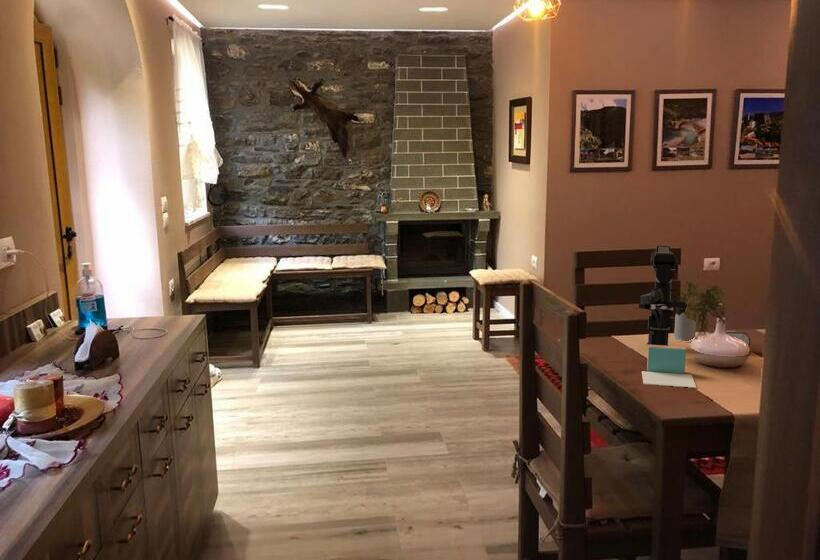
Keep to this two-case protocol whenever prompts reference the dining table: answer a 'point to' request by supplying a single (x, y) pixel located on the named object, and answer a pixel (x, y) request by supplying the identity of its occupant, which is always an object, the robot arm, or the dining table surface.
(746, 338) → the tin
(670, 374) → the mat
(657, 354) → the tile
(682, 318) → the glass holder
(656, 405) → the dining table surface
